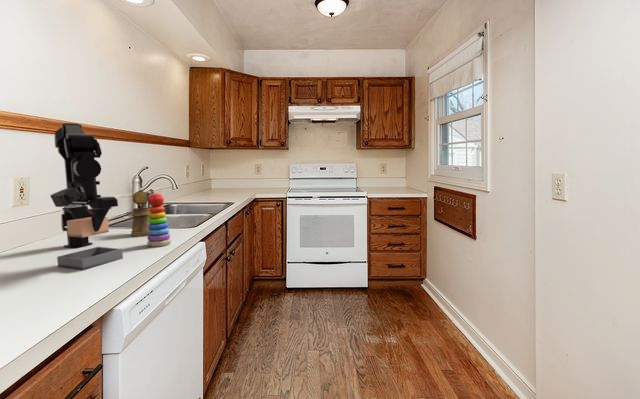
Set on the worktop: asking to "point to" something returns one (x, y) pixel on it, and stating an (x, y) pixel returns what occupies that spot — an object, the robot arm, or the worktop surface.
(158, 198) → the stacking toy
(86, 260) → the tray
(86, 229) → the salmon orange block
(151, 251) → the worktop surface
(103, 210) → the robot arm
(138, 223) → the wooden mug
